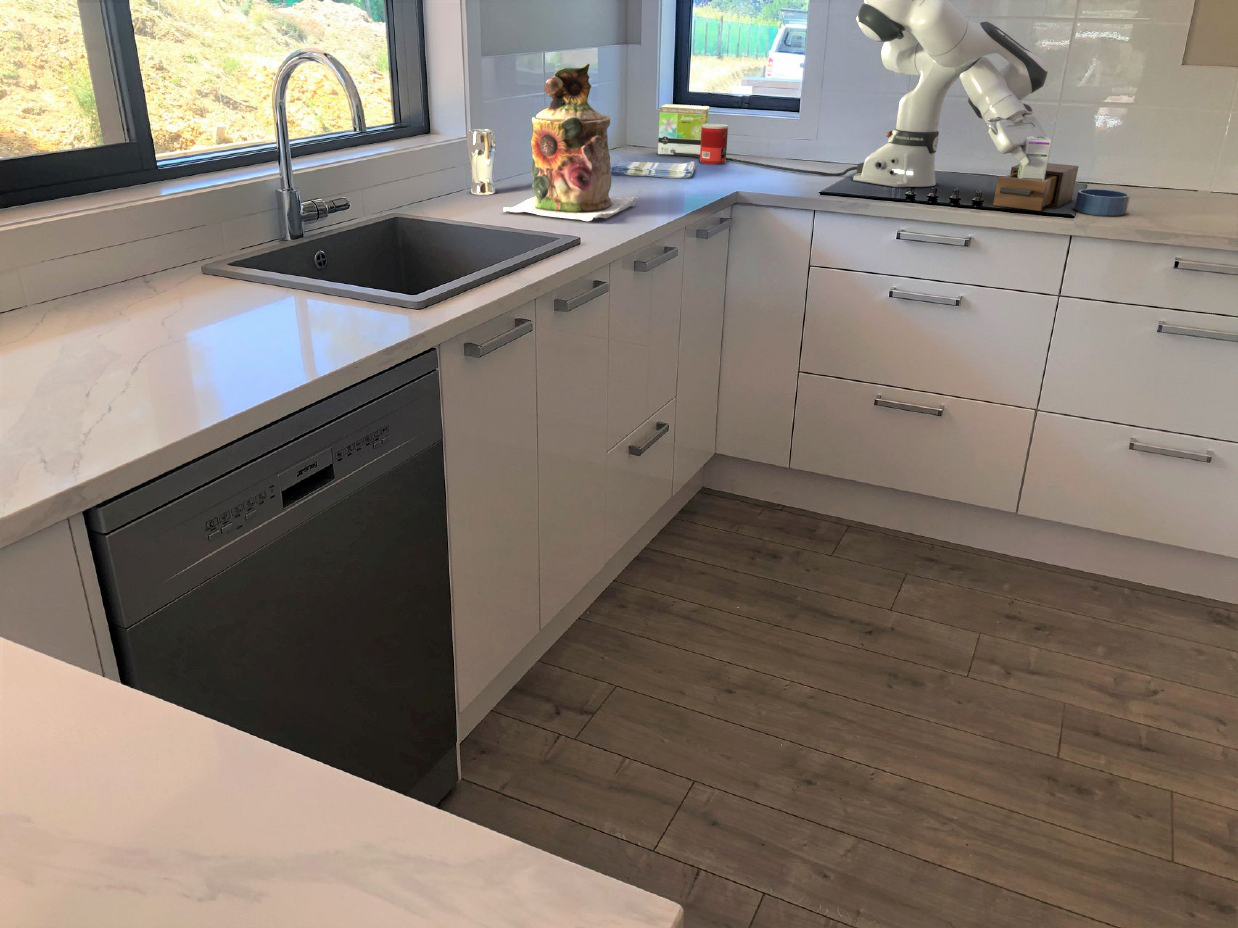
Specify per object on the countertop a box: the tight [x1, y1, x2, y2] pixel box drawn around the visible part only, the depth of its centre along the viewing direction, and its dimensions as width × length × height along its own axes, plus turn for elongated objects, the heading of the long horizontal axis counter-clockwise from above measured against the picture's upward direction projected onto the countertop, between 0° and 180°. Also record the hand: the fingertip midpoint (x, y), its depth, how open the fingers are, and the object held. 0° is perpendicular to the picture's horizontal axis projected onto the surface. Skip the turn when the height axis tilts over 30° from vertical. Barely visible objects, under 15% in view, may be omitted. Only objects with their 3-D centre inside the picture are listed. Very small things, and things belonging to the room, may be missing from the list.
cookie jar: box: [503, 63, 638, 222], centre depth 229 cm, size 25×25×32 cm
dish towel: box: [611, 160, 696, 179], centre depth 288 cm, size 17×24×3 cm
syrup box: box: [1017, 136, 1052, 181], centre depth 247 cm, size 6×6×14 cm
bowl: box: [1074, 188, 1131, 217], centre depth 246 cm, size 12×12×4 cm
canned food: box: [699, 123, 729, 165], centre depth 307 cm, size 8×8×11 cm
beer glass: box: [467, 128, 497, 196], centre depth 251 cm, size 7×7×15 cm
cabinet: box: [1009, 162, 1080, 209], centre depth 257 cm, size 15×13×9 cm
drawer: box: [992, 172, 1058, 212], centre depth 246 cm, size 18×11×7 cm, turn 144°
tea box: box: [657, 103, 710, 156], centre depth 322 cm, size 15×10×15 cm, turn 81°
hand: (1036, 162), depth 246 cm, fingers closed on syrup box, 7 cm apart
